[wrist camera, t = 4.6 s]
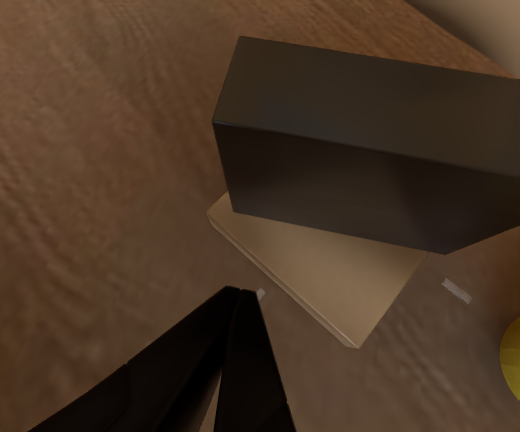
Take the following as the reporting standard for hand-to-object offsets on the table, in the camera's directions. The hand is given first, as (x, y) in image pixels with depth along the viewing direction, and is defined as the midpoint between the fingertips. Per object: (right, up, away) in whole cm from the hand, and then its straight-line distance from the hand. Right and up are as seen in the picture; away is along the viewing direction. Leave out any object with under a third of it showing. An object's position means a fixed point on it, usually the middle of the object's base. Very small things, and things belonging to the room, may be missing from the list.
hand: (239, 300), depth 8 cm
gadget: (+5, +3, +8) cm, 10 cm away
